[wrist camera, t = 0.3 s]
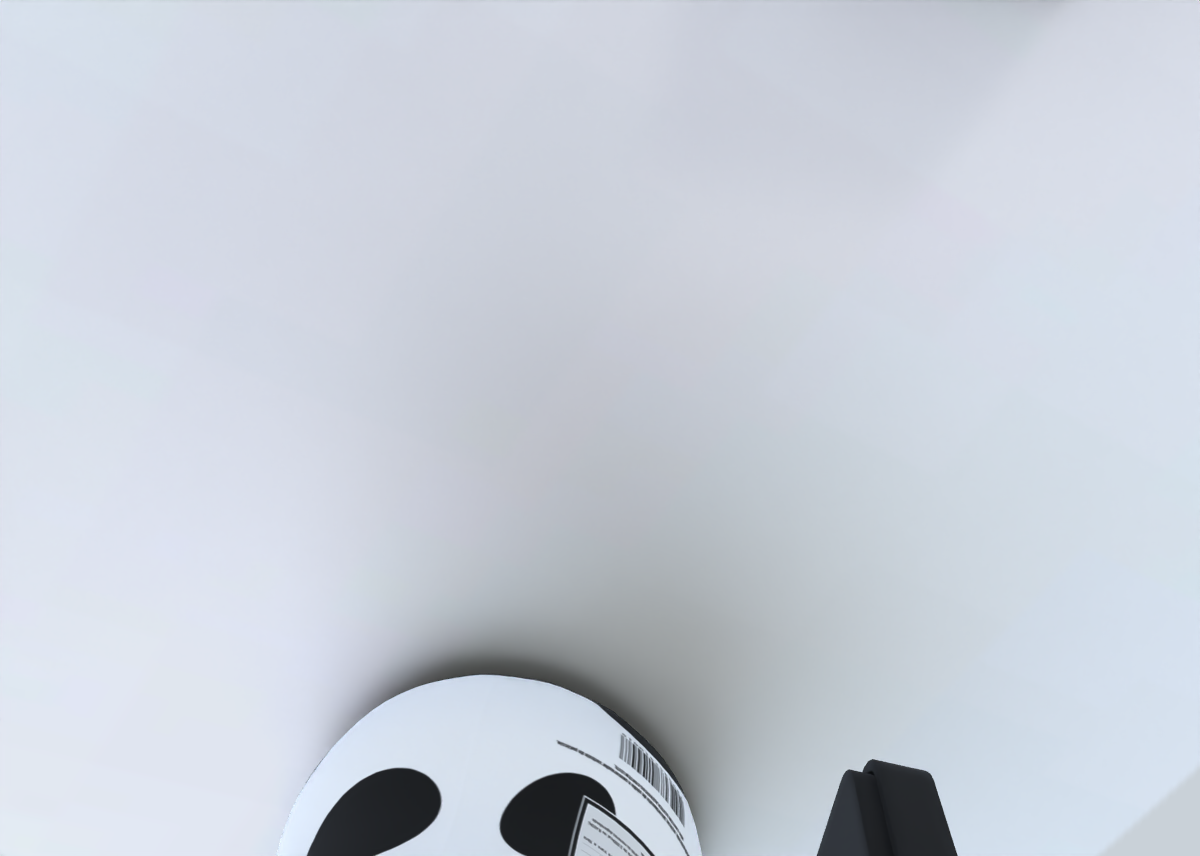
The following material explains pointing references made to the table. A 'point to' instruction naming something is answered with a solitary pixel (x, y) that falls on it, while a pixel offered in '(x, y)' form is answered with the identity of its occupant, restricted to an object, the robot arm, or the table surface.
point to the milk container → (491, 779)
